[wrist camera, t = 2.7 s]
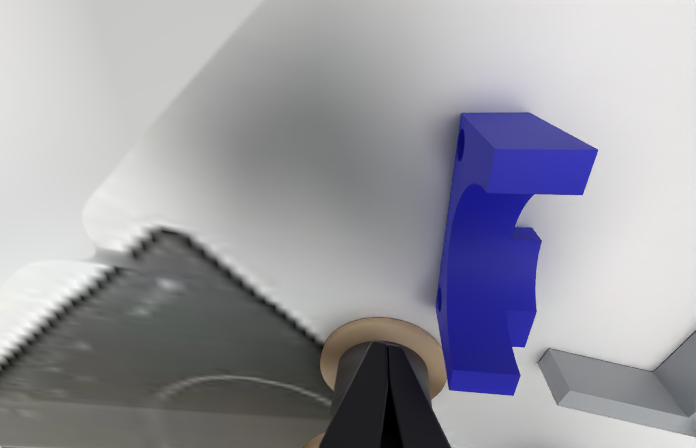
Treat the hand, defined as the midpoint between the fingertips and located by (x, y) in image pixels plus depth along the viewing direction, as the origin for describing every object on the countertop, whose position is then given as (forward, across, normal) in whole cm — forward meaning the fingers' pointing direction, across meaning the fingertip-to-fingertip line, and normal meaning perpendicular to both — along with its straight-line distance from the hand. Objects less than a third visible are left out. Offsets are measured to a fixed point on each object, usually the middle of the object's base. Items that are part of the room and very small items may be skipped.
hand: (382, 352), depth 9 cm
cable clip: (+11, -6, 0) cm, 12 cm away
